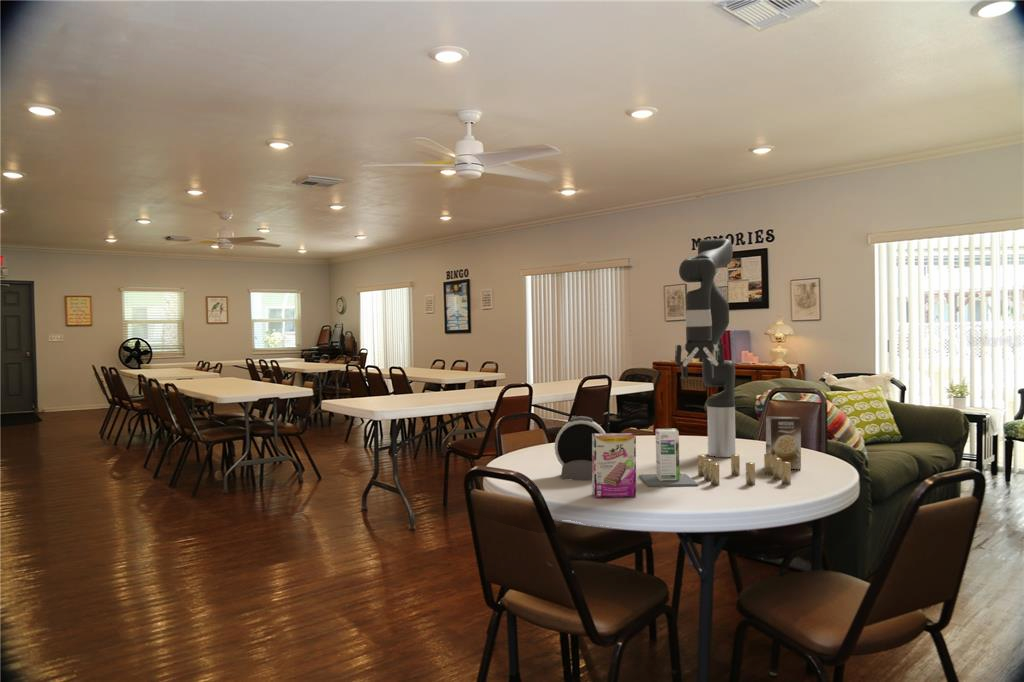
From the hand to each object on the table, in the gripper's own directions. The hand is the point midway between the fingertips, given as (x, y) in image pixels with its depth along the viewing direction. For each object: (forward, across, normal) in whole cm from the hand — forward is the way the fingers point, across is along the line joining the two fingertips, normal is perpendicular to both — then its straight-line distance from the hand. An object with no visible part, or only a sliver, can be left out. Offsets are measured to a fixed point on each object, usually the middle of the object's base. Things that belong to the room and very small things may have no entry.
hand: (699, 378), depth 204 cm
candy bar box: (+28, +30, +27) cm, 49 cm away
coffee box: (+30, -27, -7) cm, 41 cm away
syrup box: (+28, +12, +10) cm, 32 cm away
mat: (+29, +12, +10) cm, 33 cm away
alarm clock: (+29, +36, +2) cm, 47 cm away
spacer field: (+29, -10, +9) cm, 32 cm away
